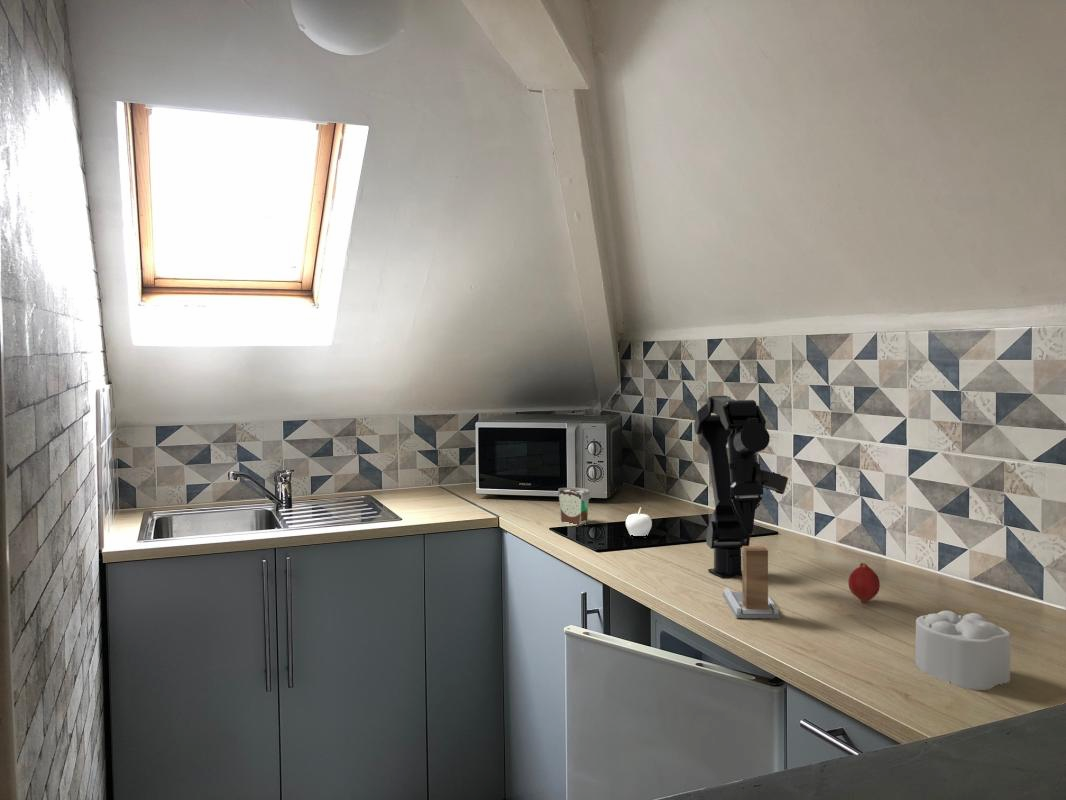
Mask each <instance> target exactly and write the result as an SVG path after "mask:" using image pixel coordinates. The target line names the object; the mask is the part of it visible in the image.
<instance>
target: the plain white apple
mask: <svg viewBox="0 0 1066 800" xmlns="http://www.w3.org/2000/svg"><path fill="white" fill-rule="evenodd" d="M641 510H642V507H639V509H638V512H637V513H632V514H629V515H628V516H627V518H626V520H625V527H626V529H627V531H628V534H629V535H630V536H631V535H633V536H646V535H647V536H648V535H649V533H650V531H651V529H652V527H653V524H652V523H653V520H652V519H651V517H650V516H649V515H648V514H646V513H641Z"/></svg>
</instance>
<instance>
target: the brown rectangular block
mask: <svg viewBox="0 0 1066 800" xmlns="http://www.w3.org/2000/svg"><path fill="white" fill-rule="evenodd" d="M741 570H742V577H741V579H742V580H741V581H742V584H741V585H742V587H741V589H742V590H741V592H742V602H738V604H739V606H740V607H741V611H742V613H743V614H773V610H772V608H771V607H770V606H769V604H768V596H769V550H768V549H767V547H765V546H764V545H749V546H742V548H741Z"/></svg>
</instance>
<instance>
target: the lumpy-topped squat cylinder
mask: <svg viewBox="0 0 1066 800" xmlns="http://www.w3.org/2000/svg"><path fill="white" fill-rule="evenodd" d="M1011 636H1012V635H1011V633H1010V632H1009V631H1008V630H1007V629H1005V628H1002V627H1000V626H998V625H996V624H995V623H993V622H990V621H987V620H986V618H984V617H983V616H982V615H981V614H979V613H975V612H971V613H966V614H964V615H961V614H960V615H958V614H957V613H955V612H953V611H951V610H942V611H939V612H938V613H928V614H925V615H920V616H918V617H917V618H916V620H915V667H916V666H917V667H918V668H919V669H920V670H921V671H923V672H924V673H927V674H928V675H931V676H934V677H936V678H939V679H942V680H944V681H947V682H951V683H953V684H956V685H959V686H962V687H961V688H963V687H965V688H964V689H967V688H969V689H968V690H974V691H985V690H986V689H987V690H991V689H992V688H994V687H996V686H999V685H998V684H1000V685H1004V684H1003V683H1005V684H1008V683H1010V682H1011ZM917 667H916V668H917ZM918 668H917V669H918ZM919 669H918V670H919ZM920 670H919V671H920ZM921 671H920V672H921ZM923 672H922V673H923ZM924 673H923V674H924ZM928 675H927V676H928ZM1009 681H1010V682H1009ZM1007 682H1008V683H1007ZM953 684H952V685H953ZM956 685H955V686H956ZM995 685H996V686H995ZM959 686H958V687H959ZM987 690H986V691H987Z"/></svg>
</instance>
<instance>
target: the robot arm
mask: <svg viewBox="0 0 1066 800" xmlns="http://www.w3.org/2000/svg"><path fill="white" fill-rule="evenodd" d="M695 414H696V415H695V419H694V423H693V424H694V425H693V428H694V434H695V435H697V440H698V445H700V447H702V448H703V450H705V451H706V453H707V459H708V466H709V472H710V474H709V475H710V478H711V485H712V492H713V499H714V506H715V508H714V511H713V513H712V514H711V517H710V520H709V523H708V527H707V531H706V534H705V538H706V539H705V540H706V545H707V547H709V548H710V549H712V550H713V568H708V569H707V571H708V572H709V573H711V574H713V575H716V576H718V577H719V578H724V579H725V578H732V577H741V576H742V546H750V540H751V537H752V535H753V532H754V526H755V525H754V524H755V523H754V522H755V515H756V511H757V509H758V508H759V507H760V506H761V502H762V501H763V499H764V497H763V496H764V489H766V490H770V491H772V492H773V491H774V492H775V493H776V494H780V495H784V494H785V492H786V488H787V484H788V480H789V477H787V476H785V475H781V473H777V472H775V471H773V472H772V471H767V470H764V469H761V463H759V460H758V453H760V452H761V451H763V450H765V449H766V448H767V447H768V445H769V444H770V439H771V438H770V437H771V436H770V434H769V431H768V430H767V428H766V424H767V422H766V418H765V416H764V413H762V410H761V408H760V406H759V405H758V404H757V402H756V401H755V400H754V399H733V398H731V397H730V396H728V395H711V396H708V397H707V400H706V403H704V405H702V406H701V408H699V409H698V410H697V411H696V413H695ZM727 447H728V449H727Z"/></svg>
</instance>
